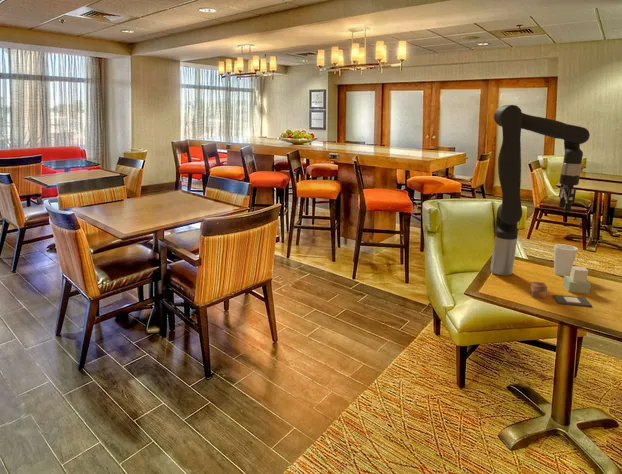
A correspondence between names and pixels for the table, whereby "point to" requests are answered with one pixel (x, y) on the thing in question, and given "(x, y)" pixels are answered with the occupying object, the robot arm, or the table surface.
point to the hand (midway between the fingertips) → (564, 209)
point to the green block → (576, 285)
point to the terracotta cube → (538, 290)
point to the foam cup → (564, 259)
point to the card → (572, 300)
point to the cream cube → (579, 274)
